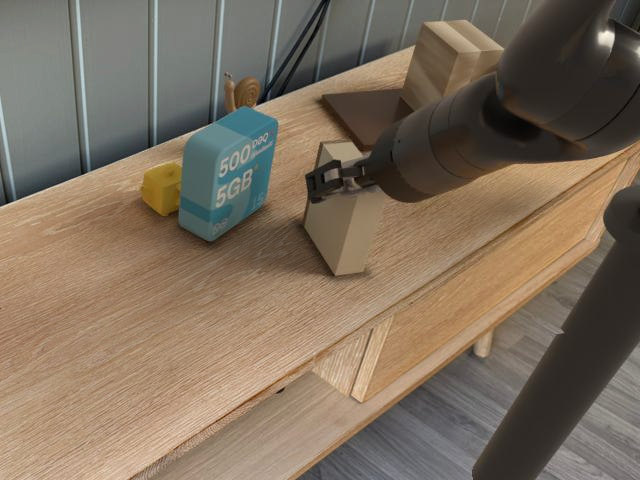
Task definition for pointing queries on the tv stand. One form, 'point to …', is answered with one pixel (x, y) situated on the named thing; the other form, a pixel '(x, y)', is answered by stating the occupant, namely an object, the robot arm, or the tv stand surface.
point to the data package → (226, 172)
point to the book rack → (418, 79)
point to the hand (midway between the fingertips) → (348, 190)
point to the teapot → (162, 188)
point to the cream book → (343, 217)
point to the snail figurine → (241, 93)
